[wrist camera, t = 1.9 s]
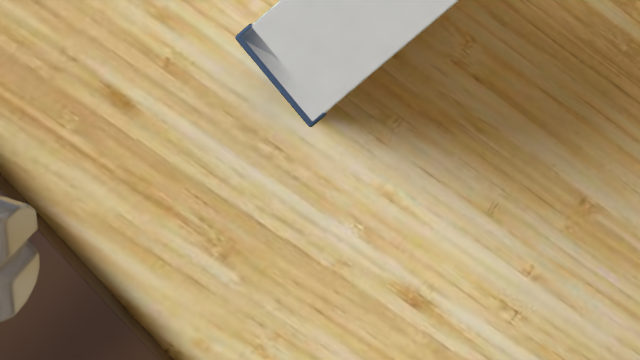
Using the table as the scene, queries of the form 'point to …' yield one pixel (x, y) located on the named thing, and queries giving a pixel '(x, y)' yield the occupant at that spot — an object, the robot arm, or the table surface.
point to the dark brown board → (70, 310)
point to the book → (332, 45)
